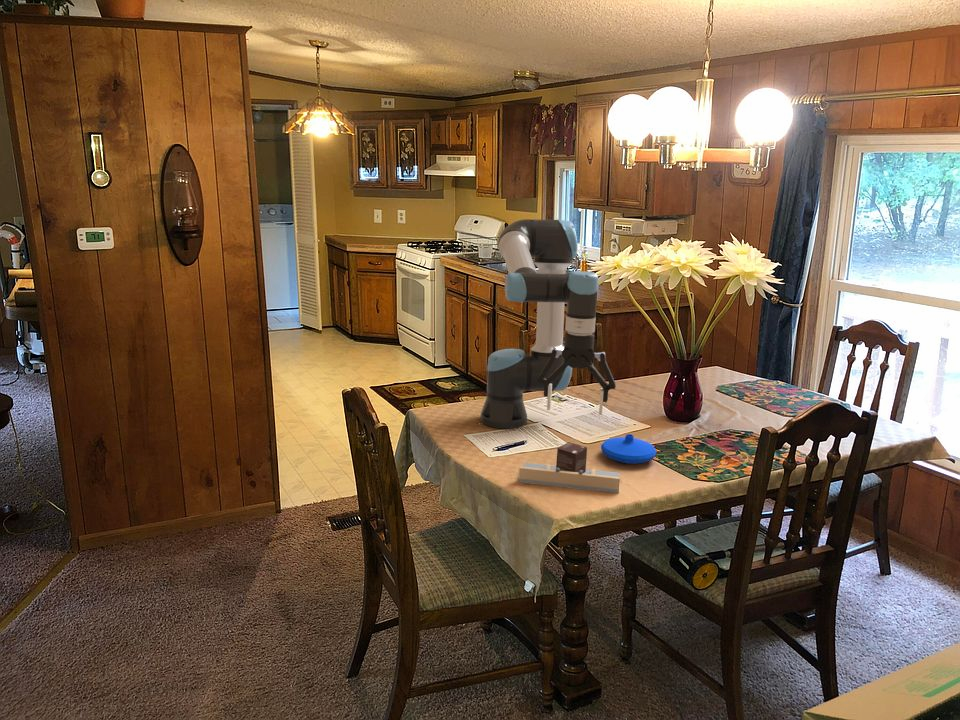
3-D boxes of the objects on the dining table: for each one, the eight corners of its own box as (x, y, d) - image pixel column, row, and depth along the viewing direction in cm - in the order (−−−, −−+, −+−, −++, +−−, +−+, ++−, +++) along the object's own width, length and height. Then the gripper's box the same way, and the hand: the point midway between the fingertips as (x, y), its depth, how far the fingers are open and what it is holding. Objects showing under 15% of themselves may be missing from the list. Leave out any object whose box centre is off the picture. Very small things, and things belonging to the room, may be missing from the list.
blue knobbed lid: (603, 467, 209) (604, 444, 208) (597, 446, 225) (599, 424, 223) (659, 470, 209) (662, 447, 207) (650, 449, 224) (652, 427, 222)
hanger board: (524, 466, 208) (525, 450, 207) (619, 476, 204) (620, 459, 202) (518, 482, 198) (519, 465, 197) (618, 493, 193) (620, 476, 192)
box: (567, 466, 207) (568, 441, 205) (586, 472, 203) (588, 447, 201) (555, 473, 202) (556, 447, 200) (574, 479, 198) (576, 453, 196)
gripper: (529, 332, 191) (525, 410, 197) (629, 339, 187) (622, 419, 192) (533, 325, 198) (529, 402, 204) (629, 332, 194) (622, 410, 199)
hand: (574, 410), depth 198 cm, fingers open, 13 cm apart
